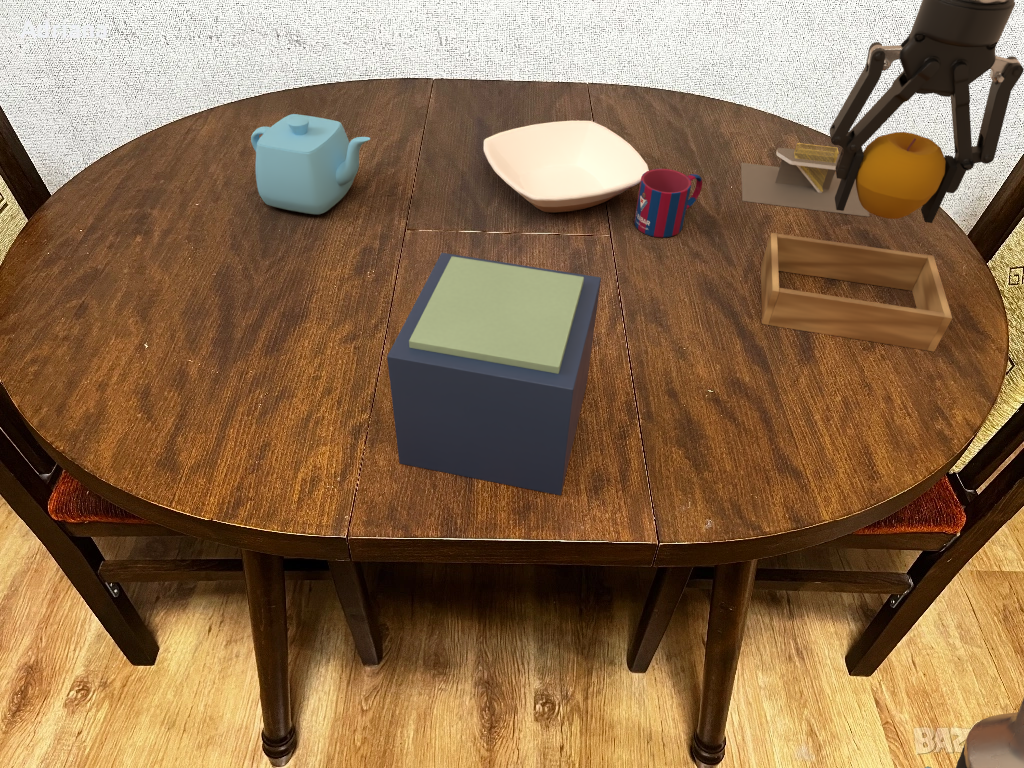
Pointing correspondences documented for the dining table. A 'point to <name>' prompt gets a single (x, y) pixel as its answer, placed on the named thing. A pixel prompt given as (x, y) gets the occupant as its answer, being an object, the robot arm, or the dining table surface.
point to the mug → (664, 201)
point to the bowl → (565, 164)
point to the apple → (899, 174)
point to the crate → (490, 403)
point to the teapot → (305, 163)
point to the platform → (799, 181)
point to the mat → (500, 314)
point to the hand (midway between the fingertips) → (882, 210)
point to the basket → (851, 314)
